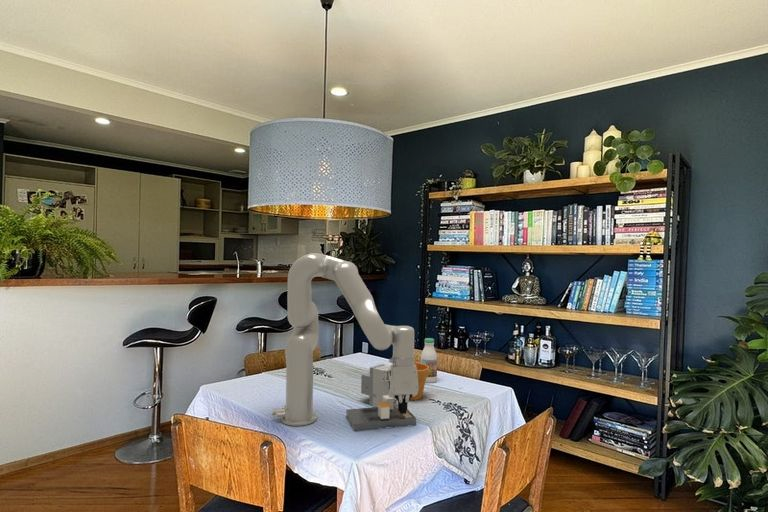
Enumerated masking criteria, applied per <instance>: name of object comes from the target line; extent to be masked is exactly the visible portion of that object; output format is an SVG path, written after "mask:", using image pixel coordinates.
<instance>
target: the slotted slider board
mask: <svg viewBox="0 0 768 512" xmlns="http://www.w3.org/2000/svg"><path fill="white" fill-rule="evenodd" d="M345 412H346V413H345V414H346V415H345V416H346V419H347V420H348V422H349V424H350V426H351V428H352V429H353V431H354V432H363V431H371V430H372V429H373V430H380V429H379V428H383V429H387V428H386V427H393V428H396V427H395V426H402V427H409V426H408V425H412V426H417V418H416V416H415V415H414V414H413V413H412V412H411V411H410V410H409V409H408V408H407V410H406V414H401V413H400V412H399V411H398V404H397V405H394V406H393V409H392V410H390V413H389V418H388V419H381V418H380V417H379V416H378V407H374V406H370V407H363V408H361V407H360V408H351V409H346V411H345Z"/></svg>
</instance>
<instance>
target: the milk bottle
mask: <svg viewBox="0 0 768 512" xmlns="http://www.w3.org/2000/svg"><path fill="white" fill-rule="evenodd" d="M434 344H435V339H434V338H431V337H426V338H424V346H423V350H422V352H421V356H420V363H422V364H426V365H427V366H429V375H428V377H427V378H426V382H425V384H427V383H428V384H432V383H437V381H438V377H437V376H438V355H437V351H436V349H435V346H434Z"/></svg>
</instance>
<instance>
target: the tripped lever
mask: <svg viewBox="0 0 768 512" xmlns="http://www.w3.org/2000/svg"><path fill="white" fill-rule="evenodd" d="M389 413H390V405H389V404H388V403H387V401H384V402H378V416H379V417H380V418H381V419H388V418H389Z"/></svg>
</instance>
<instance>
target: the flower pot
mask: <svg viewBox="0 0 768 512" xmlns="http://www.w3.org/2000/svg"><path fill="white" fill-rule="evenodd" d="M414 364H415V365H416V367H417V373H418V392H417V393H418V394H417V395H416V396H412V397H411V398H410V400H409V401H418V400H420V399H422V398H423V394H424V389H425V385H426V378H427V377H428V375H429V366H427V365H426V364H422V363H421V362H416V361H414ZM403 396H404V395H402V399H403Z"/></svg>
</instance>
